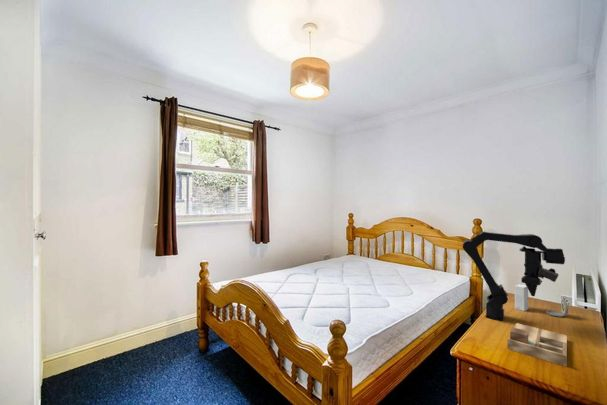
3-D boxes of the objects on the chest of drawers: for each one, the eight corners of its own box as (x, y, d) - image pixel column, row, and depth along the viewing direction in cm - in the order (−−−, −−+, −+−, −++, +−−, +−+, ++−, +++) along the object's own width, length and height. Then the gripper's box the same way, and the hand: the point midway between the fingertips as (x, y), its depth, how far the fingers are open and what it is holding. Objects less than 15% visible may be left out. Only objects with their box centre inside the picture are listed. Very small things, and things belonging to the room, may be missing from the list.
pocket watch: (542, 312, 136) (542, 292, 136) (557, 311, 137) (557, 292, 137) (558, 319, 128) (558, 298, 128) (574, 318, 129) (574, 297, 129)
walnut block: (510, 341, 102) (510, 331, 103) (512, 337, 106) (512, 327, 106) (527, 346, 99) (527, 335, 99) (528, 341, 103) (528, 331, 103)
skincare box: (524, 311, 137) (524, 287, 138) (514, 308, 141) (514, 285, 141) (529, 308, 141) (529, 285, 141) (518, 306, 145) (518, 283, 145)
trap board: (507, 348, 101) (507, 339, 101) (516, 327, 119) (516, 319, 119) (566, 366, 90) (566, 356, 90) (566, 340, 108) (566, 331, 108)
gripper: (555, 268, 110) (555, 306, 110) (558, 261, 123) (558, 295, 123) (521, 263, 118) (521, 299, 118) (526, 258, 131) (527, 290, 131)
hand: (533, 295), depth 122 cm, fingers closed
